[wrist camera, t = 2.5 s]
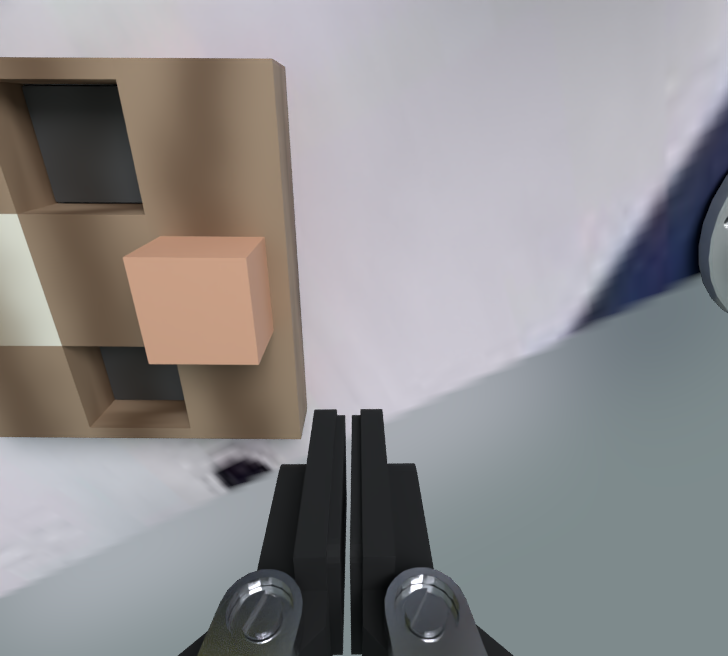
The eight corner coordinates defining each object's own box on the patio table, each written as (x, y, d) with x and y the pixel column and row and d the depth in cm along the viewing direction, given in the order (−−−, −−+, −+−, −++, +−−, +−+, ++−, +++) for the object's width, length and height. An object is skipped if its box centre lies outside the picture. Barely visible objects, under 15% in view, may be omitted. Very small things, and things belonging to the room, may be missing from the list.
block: (264, 236, 21) (246, 258, 17) (273, 330, 23) (258, 364, 20) (160, 236, 21) (122, 257, 17) (179, 330, 23) (148, 364, 20)
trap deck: (284, 66, 20) (272, 58, 17) (306, 408, 29) (300, 439, 26) (-122, 65, 20) (-197, 56, 17) (21, 407, 29) (-15, 436, 26)
